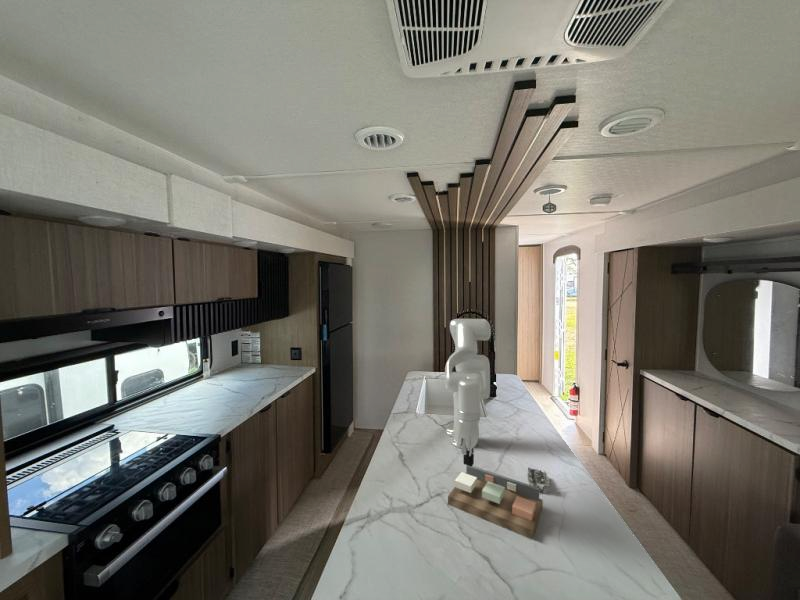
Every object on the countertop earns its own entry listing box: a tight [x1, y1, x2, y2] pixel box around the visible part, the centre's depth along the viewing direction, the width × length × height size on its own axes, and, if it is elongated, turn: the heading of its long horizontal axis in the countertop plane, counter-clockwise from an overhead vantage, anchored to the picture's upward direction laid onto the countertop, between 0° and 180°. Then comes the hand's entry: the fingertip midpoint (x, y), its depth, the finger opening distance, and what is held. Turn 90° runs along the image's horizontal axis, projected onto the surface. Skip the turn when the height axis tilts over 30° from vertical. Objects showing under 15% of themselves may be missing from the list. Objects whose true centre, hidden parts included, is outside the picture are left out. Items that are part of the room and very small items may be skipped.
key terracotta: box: [512, 496, 536, 521], centre depth 105 cm, size 6×6×2 cm
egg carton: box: [527, 466, 550, 494], centre depth 124 cm, size 11×8×4 cm
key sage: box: [482, 481, 505, 504], centre depth 111 cm, size 6×6×2 cm
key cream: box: [454, 471, 477, 493], centre depth 116 cm, size 6×6×2 cm
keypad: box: [447, 465, 544, 540], centre depth 112 cm, size 28×16×7 cm, turn 56°
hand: (468, 464), depth 116 cm, fingers closed
